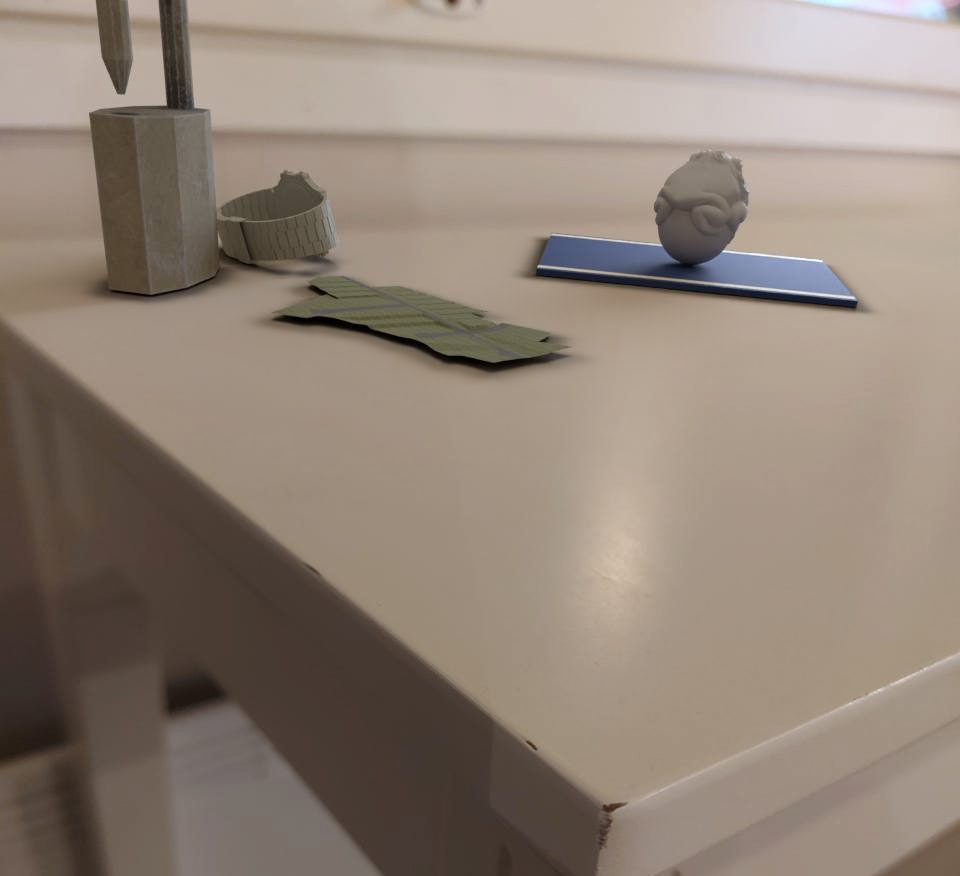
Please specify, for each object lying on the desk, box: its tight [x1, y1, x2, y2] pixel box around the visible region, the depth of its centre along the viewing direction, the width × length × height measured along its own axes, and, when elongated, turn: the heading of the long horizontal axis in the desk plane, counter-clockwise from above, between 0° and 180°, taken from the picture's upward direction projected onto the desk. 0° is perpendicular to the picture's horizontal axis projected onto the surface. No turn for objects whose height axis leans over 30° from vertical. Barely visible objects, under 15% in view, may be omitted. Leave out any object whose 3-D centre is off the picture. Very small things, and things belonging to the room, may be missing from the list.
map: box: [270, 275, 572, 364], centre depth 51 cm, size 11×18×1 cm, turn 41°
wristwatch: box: [216, 169, 340, 265], centre depth 61 cm, size 9×6×5 cm
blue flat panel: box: [535, 232, 859, 308], centre depth 69 cm, size 20×14×1 cm
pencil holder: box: [88, 0, 221, 295], centre depth 52 cm, size 4×8×15 cm, turn 167°
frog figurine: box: [653, 149, 751, 265], centre depth 67 cm, size 6×7×7 cm
